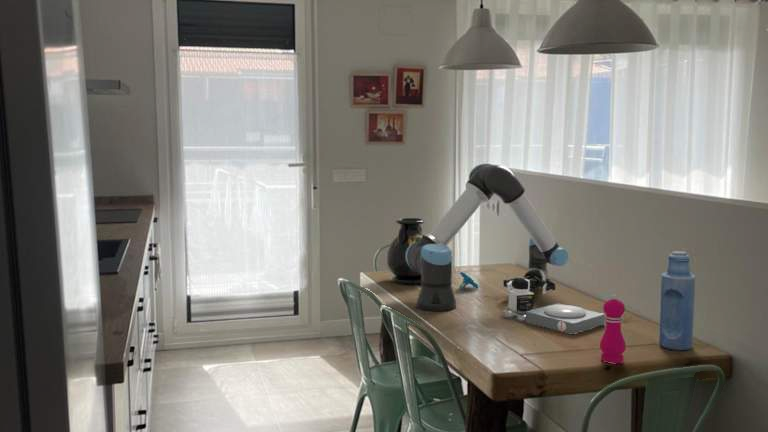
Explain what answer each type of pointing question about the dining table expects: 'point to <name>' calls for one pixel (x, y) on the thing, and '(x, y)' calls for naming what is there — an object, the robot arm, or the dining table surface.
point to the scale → (565, 318)
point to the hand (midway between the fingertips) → (525, 289)
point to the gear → (467, 281)
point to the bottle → (677, 303)
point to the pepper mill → (613, 331)
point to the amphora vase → (404, 251)
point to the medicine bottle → (521, 296)
